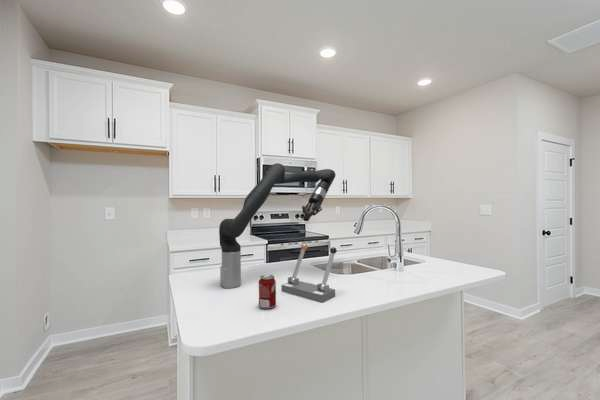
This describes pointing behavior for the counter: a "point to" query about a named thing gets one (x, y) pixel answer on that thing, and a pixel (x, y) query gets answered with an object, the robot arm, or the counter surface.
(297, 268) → the copper lever
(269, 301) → the soda can
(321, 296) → the switch bar
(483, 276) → the counter surface
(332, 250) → the black lever
